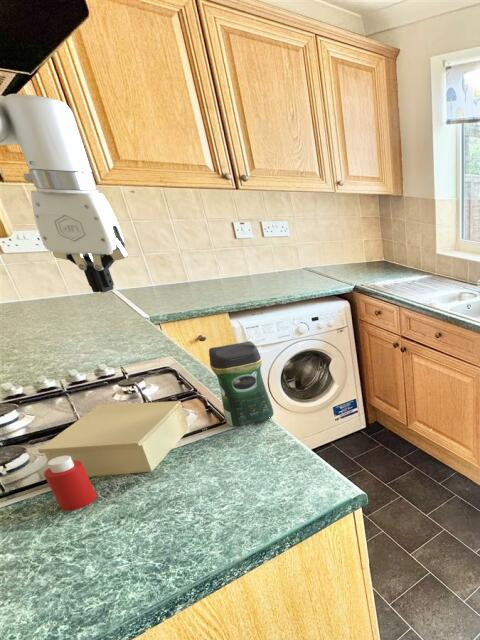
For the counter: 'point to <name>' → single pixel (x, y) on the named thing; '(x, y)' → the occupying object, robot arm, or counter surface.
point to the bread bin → (132, 450)
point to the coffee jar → (241, 383)
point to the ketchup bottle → (69, 483)
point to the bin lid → (112, 427)
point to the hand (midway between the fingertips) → (103, 290)
